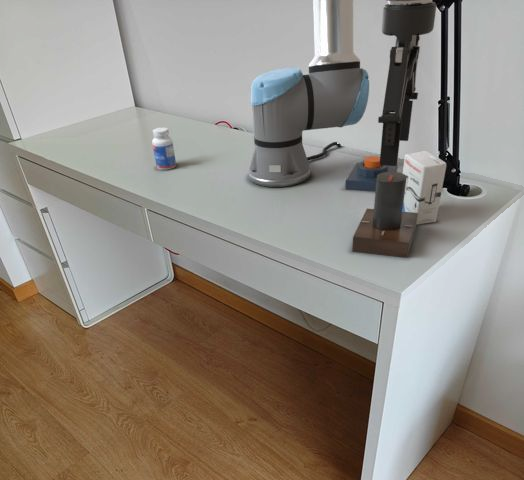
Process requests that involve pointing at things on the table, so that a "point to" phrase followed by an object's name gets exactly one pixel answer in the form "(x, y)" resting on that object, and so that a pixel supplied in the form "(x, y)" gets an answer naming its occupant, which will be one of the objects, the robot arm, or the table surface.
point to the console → (384, 236)
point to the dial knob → (389, 200)
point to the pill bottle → (163, 149)
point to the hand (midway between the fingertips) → (394, 152)
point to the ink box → (423, 185)
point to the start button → (372, 162)
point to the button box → (366, 177)
